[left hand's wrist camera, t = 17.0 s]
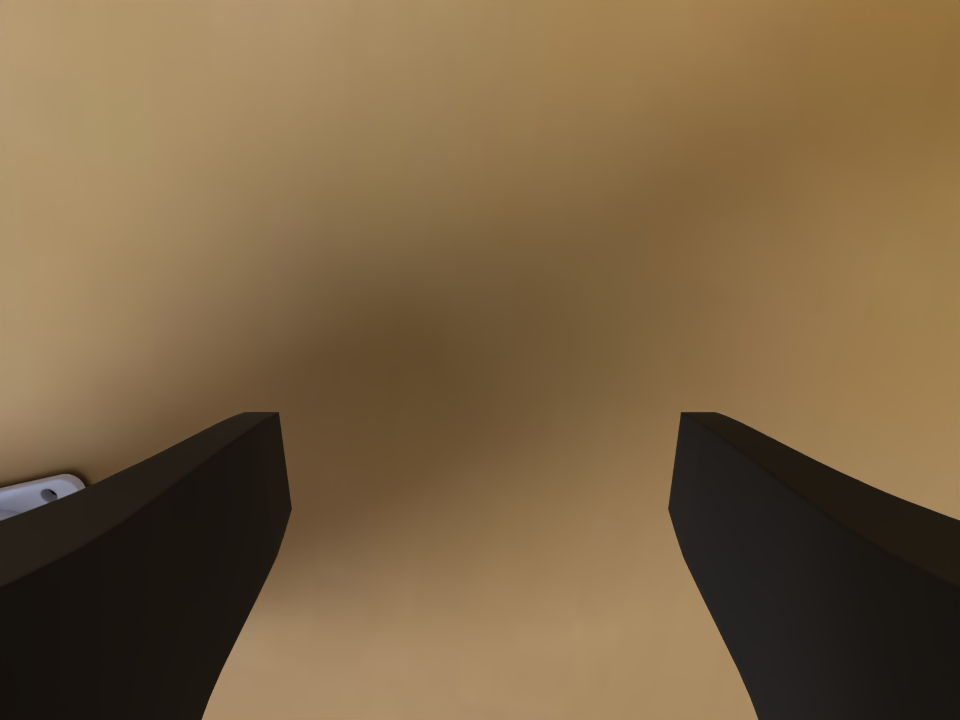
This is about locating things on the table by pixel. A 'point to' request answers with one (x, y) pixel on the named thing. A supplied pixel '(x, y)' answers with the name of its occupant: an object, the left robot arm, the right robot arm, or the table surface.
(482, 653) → the table surface
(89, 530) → the left robot arm
